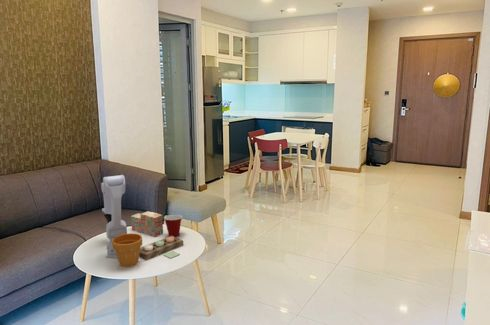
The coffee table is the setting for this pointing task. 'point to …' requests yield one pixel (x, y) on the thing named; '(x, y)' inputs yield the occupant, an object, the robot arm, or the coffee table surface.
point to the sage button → (159, 243)
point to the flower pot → (127, 248)
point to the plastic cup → (173, 224)
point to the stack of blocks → (148, 223)
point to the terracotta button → (170, 239)
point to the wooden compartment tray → (160, 248)
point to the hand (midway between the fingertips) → (111, 226)
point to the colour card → (171, 254)
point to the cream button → (148, 248)
